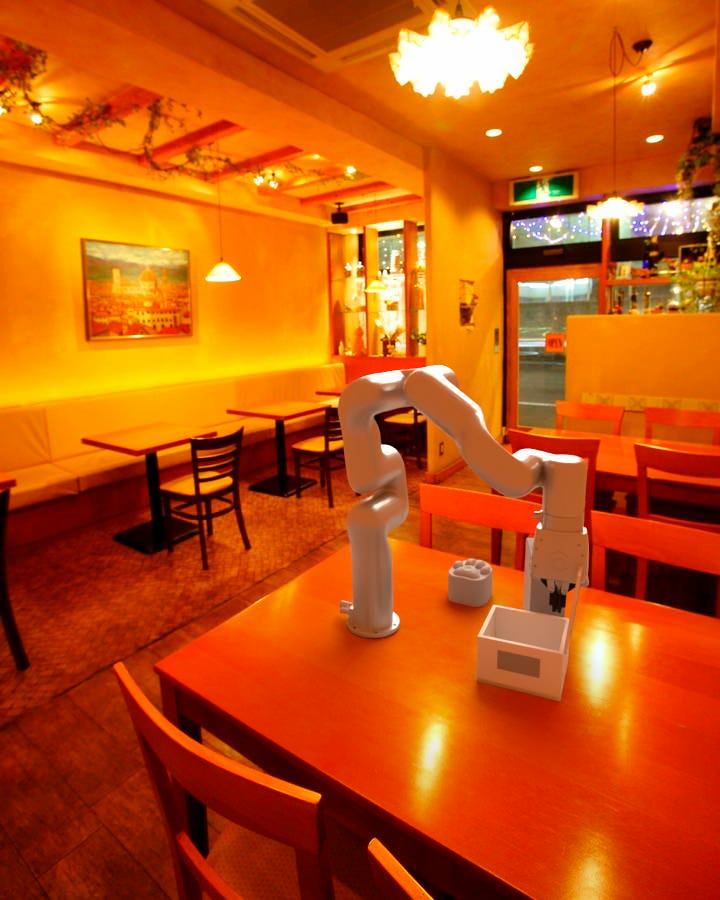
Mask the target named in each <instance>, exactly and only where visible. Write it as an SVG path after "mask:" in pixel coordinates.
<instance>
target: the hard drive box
mask: <svg viewBox="0 0 720 900" xmlns="http://www.w3.org/2000/svg"><path fill="white" fill-rule="evenodd" d="M533 542H534V537H526V539H525V559H524V580H523V602H522V603H523V604H522V608H523V609H522V610H526V611H531V612H537V613H542V614H547V615H553V616H558V617H564V618H565V609H566V607H565V608H562V610H561V613H558V612H557V610H556V612H552V606H551V605H549V597H550V592H549V591H548V588H547V587H546V586H545V585H544V584H543V583H542V582H541V581H539V580H536V579H533V578H531V577H530V574H531V560H532V550H533ZM562 584H563V582H561V581H556V585H557V587H558V589H560V587H561V586H562Z"/></svg>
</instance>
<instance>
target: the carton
mask: <svg viewBox="0 0 720 900" xmlns="http://www.w3.org/2000/svg"><path fill="white" fill-rule="evenodd" d="M569 619H570V617H569V618H568V617H565V616H564V617H558V616H553V615H547V614H542V613H537V612H531V611H526V610H523V609H519V608H514V607H509V606H504V605H503V606H502V605H498V604H493V605H492V606H491V609H490V610H489V613H488V615H487V616H486V619H485V620H484V622H483V625H482V626H481V629H480V631H479V633H478V634H477V648H476V650H477V651H476V652H477V653H476V682H479V683H483V684H485V685H486V684H487V685H489V686H495V687H498V688H503V689H506V690H511V691H515V692H519V693H523V694H527V695H531V696H535V697H539V698H544V699H548V700H553V701H556V702H561V700H562V695H563V690H564V685H565V680H566V675H567V671H568V664H569V655H570V644H569V645H568V650H567V654H564V653H563V652H564V646H565V641H566V635H567V630H568V624H569Z"/></svg>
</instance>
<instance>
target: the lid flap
mask: <svg viewBox="0 0 720 900" xmlns="http://www.w3.org/2000/svg"><path fill="white" fill-rule="evenodd" d="M582 569H583V566H579V570H578V575H577V580H576V585H575V588H574V592H573V598H572V603H571V609H570V614H569V624H568V630H567V635H566V641H565V646H564V652H563V653H564V654H567V650H568V645H569V646H570V640H571V637H572V632H573V626H574V622H575V615H576V610H577V604H578V600H579V595H580V594H579V593H580V590H581V587H580V580H581V574H582Z"/></svg>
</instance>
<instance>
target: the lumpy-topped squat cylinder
mask: <svg viewBox="0 0 720 900" xmlns="http://www.w3.org/2000/svg"><path fill="white" fill-rule="evenodd" d="M447 574H448V575H447V599H448V600H449V601H450V602H453V603H454V604H455V603H457V604H462V605H465V606H468V607H473V608H474V607H475V608H477V607H479V608H480V607H482V606H485V605H486V604H487V603H488V602H489V601H490V599H491V598H492V596H493V575H494V574H493V568H492V566H491V565H490V563H488V562H486V561H484V560H483V559H482V560H481V559H476V558H468V559H466V560H456V561H454V563H453V564H452V567H450V568H449V570H448V572H447Z"/></svg>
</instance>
